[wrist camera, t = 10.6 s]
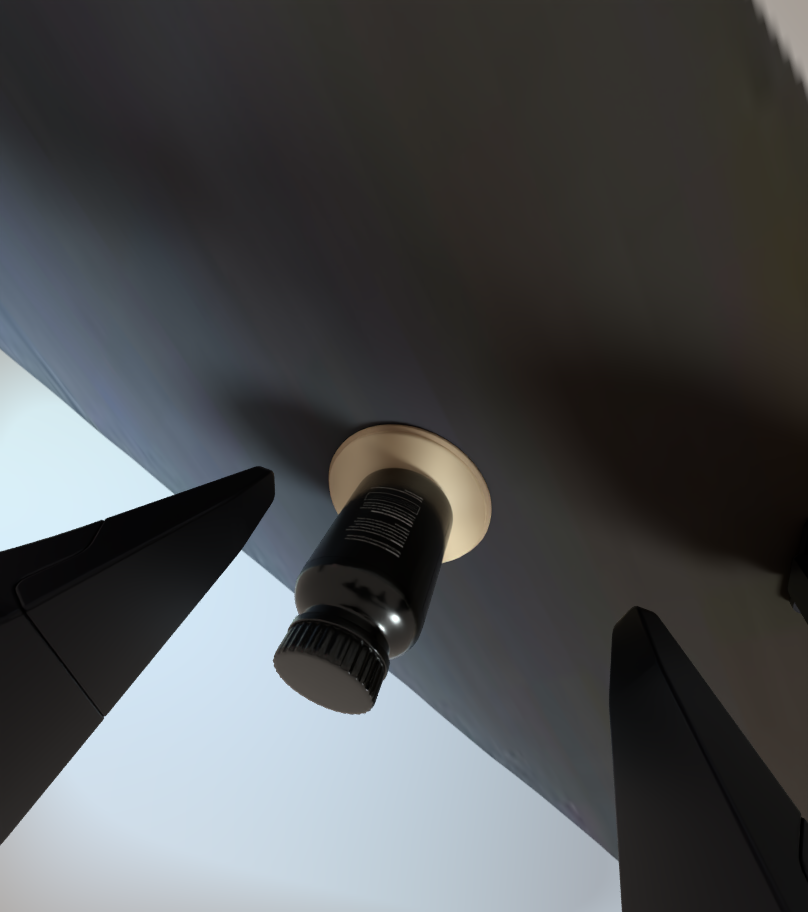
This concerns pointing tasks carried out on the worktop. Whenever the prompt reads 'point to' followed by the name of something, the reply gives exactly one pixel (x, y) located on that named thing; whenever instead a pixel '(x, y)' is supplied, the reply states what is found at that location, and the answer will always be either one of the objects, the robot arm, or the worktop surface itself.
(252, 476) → the robot arm
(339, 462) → the coaster
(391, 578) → the supplement bottle
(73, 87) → the worktop surface
